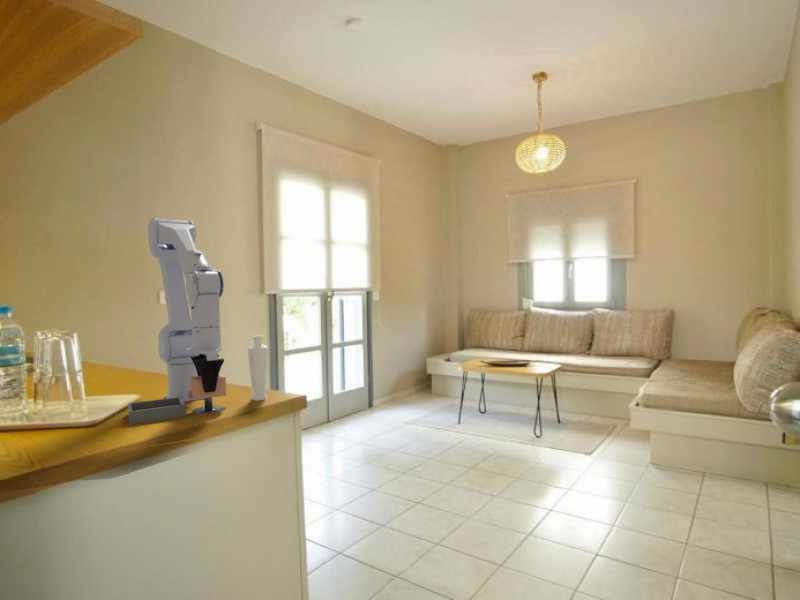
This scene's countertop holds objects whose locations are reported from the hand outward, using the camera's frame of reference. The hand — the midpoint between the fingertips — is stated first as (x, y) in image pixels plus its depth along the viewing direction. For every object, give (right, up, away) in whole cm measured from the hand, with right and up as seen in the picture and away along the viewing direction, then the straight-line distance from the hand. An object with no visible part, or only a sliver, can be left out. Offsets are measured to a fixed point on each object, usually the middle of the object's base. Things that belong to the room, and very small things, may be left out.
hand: (207, 389), depth 106 cm
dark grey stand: (0, -5, 0) cm, 5 cm away
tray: (-9, -5, -4) cm, 11 cm away
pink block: (0, -1, 0) cm, 1 cm away
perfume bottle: (+8, -4, +10) cm, 14 cm away
